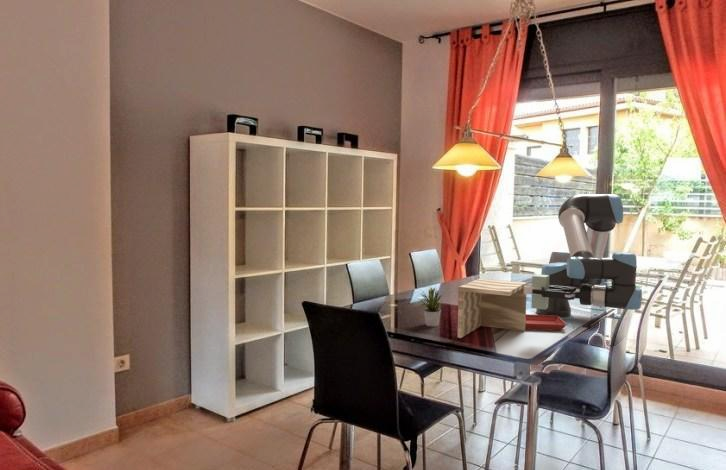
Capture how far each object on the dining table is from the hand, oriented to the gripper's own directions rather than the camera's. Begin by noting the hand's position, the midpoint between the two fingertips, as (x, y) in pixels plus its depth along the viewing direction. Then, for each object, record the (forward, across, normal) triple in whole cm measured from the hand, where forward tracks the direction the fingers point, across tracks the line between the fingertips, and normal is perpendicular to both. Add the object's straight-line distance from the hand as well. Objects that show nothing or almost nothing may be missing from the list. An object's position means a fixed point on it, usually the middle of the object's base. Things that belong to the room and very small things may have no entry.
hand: (526, 288), depth 201 cm
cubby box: (+12, +1, -19) cm, 23 cm away
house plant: (+40, +3, -20) cm, 45 cm away
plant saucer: (0, +25, -20) cm, 32 cm away
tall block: (-5, 0, -7) cm, 8 cm away
